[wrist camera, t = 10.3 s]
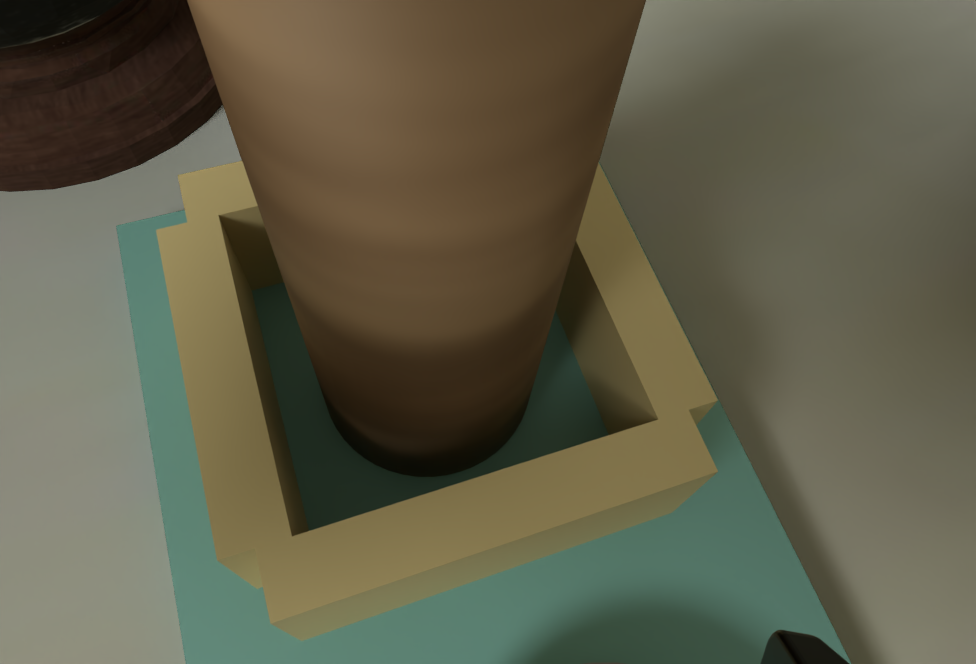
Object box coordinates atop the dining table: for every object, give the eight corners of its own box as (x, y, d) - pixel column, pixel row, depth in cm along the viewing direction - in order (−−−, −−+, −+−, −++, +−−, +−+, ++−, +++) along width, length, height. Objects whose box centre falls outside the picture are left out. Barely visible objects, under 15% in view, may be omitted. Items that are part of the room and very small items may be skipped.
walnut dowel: (561, 440, 17) (848, -202, 5) (352, 505, 16) (125, -95, 4) (491, 266, 19) (587, -491, 7) (302, 315, 18) (49, -461, 6)
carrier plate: (993, 1003, 13) (1192, 1106, 10) (316, 1362, 11) (258, 1663, 8) (572, 143, 22) (598, 30, 18) (131, 248, 19) (61, 141, 16)
